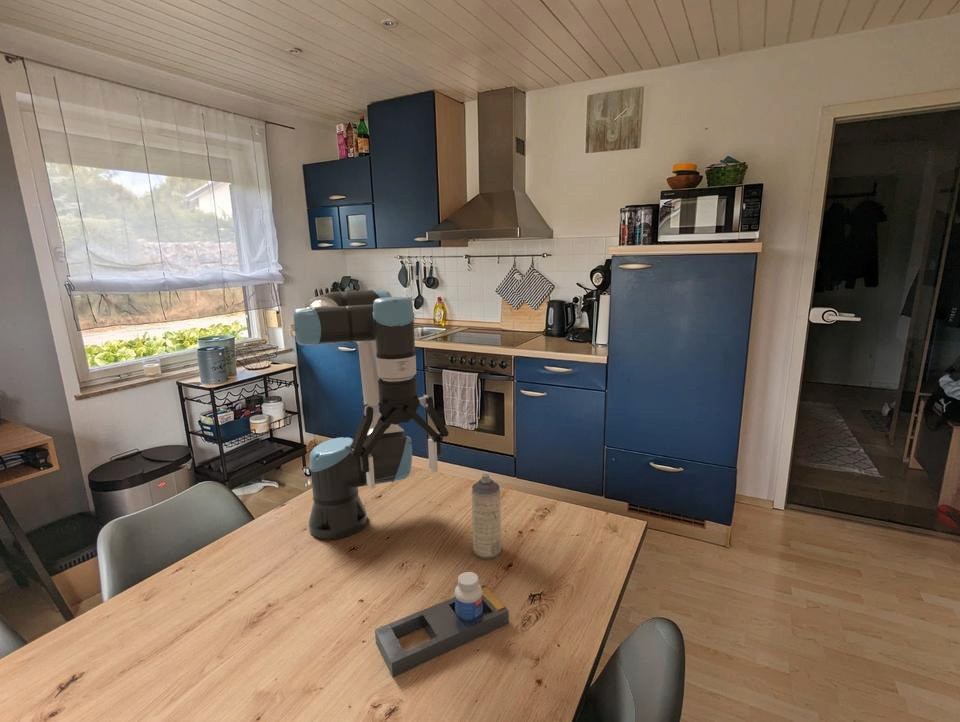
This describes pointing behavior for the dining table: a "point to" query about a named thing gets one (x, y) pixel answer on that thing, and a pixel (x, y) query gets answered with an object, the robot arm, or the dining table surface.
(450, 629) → the grey bottle holder tray
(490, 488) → the aerosol can
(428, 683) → the dining table surface
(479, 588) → the pill bottle
